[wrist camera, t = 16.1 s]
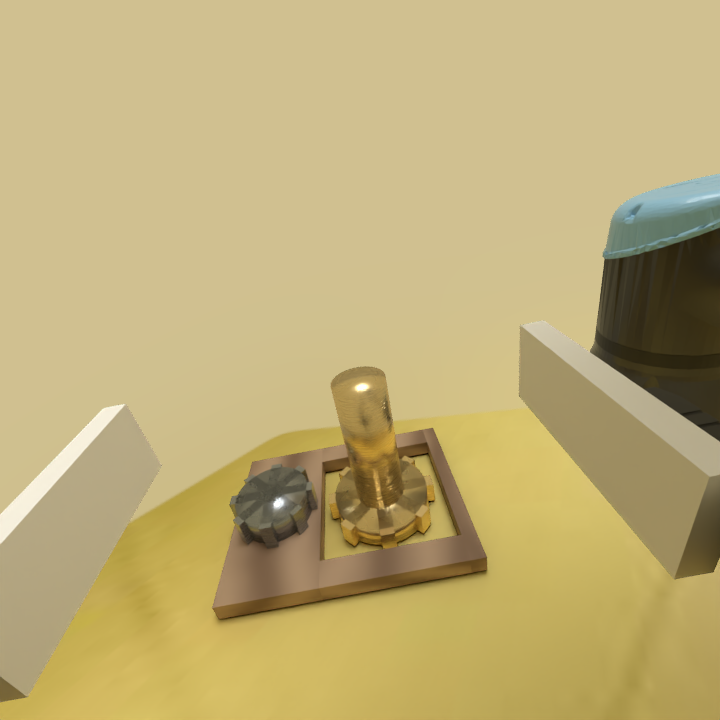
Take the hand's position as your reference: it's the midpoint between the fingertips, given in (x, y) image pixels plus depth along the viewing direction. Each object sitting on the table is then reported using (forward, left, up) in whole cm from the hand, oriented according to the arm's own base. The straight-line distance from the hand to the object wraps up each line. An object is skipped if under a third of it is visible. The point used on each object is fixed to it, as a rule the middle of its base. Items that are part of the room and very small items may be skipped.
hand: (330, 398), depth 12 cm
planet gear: (-1, -15, -22) cm, 26 cm away
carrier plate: (+3, -15, -22) cm, 27 cm away
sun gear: (+9, -15, -20) cm, 27 cm away
